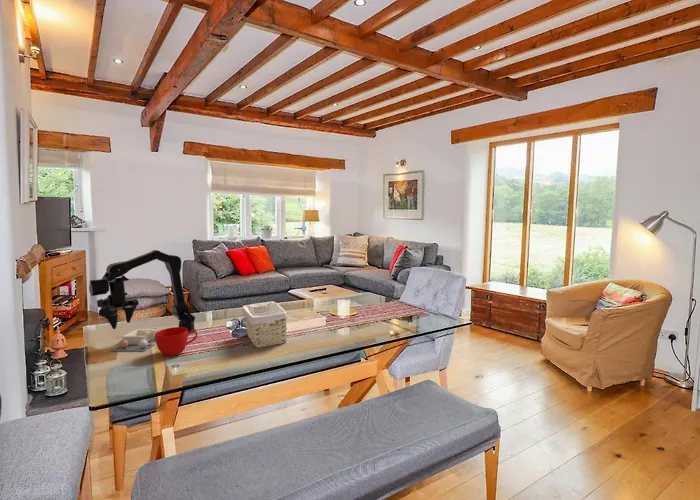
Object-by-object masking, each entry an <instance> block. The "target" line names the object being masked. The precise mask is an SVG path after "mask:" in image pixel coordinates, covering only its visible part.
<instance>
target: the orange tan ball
mask: <svg viewBox="0 0 700 500" xmlns="http://www.w3.org/2000/svg"><path fill="white" fill-rule="evenodd" d="M128 344H129V343H128V341H127V340H125V339H123V340H122V339H121V340H119V342H118V347H120V348H126V347H127V346H128Z"/></svg>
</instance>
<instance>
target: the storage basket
mask: <svg viewBox="0 0 700 500" xmlns="http://www.w3.org/2000/svg"><path fill="white" fill-rule="evenodd" d="M260 309H265V311H263V312H255V311H256V310H260ZM242 313H243V316H244V322H245V328H246V334H247V336H248V338H249V340H250V342H251V343H252V344H253V345H254V347H255V348H258V349H260V348H264V347H268V346H276V345H281V344H284V343H287V334H288V332H287V329H288V327H287V318H288V315H287V312H286V310H285V309H284V308H283V307H282V306H281V305H280V304H279V303H277V302H275V301H266V302H258V303H250V304H246V305H242Z"/></svg>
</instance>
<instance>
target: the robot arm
mask: <svg viewBox="0 0 700 500" xmlns="http://www.w3.org/2000/svg"><path fill="white" fill-rule="evenodd" d="M155 260H158V261H159V262H160V261H161V262H162V263H164V264H165V268H166V270H167V272H168V273H169V277H170V284H171V289H172V295H173V301H174V303H173V305H171V306H170V308H171V314H172V315H173V316H174V317H175V318H177V320H178V327H184V328H187V330H188V332H189V331H191V330H195V331H197V329H195V320H196V316H194V315H193V314H192V313H191V311H190V309H189V306H188V305H187V303H186V301H185V295H184V290H183V283H182V277H181V269H182V258H181V257H180V256H178V255H173V254H168V253H165V252H162V251H160V250H157V249H153V250H151V251H148V252H147V253H144V254H141V255H138V256H137V257H133V258H131V259H128V260H126V261H117V262H114V263H113V262H112V263H110V264H108V265H107V267H106V272H104V273H105V274H104V275H103V277H101V278H100V279H91V280H89V286H88V290H89V294H90V296H91V297H96V296H100V295H102V296H103V295H106V294H108V292H109V293H110V294H108V295H107V298H106V299H103V298H101V299H98V300H96V305H97V308H100V309H99V310H98V316H99V317H103V318H105V319H106V320H107V321H108V322H109V324H110V326H111V328H112V329H113V330H115V329H117V325H118V318H119V313H118V311H119V310H121V309H122V310H123V311H124V314H125V320H126V323H127V324H129V323H130V322H131V319H132V318H133V316H134V313H135V310H136V308H137V307H138V306H139V305H140V304H139V300H138V299H137V298H128V299H127V297H126V296H128V294H129V293H128V292H126V290H125V282H126V281H127V282H128V281H129V280H130V278H128V277H126V276H125V274H127V273H128V272H129V271H131V270H132V269H135V268H137V267H140V266H143V265H146V264H147V263H151V262H153V261H155ZM191 333H192V332H191ZM191 333H190V334H189V335H192V334H193V333H192V334H191Z"/></svg>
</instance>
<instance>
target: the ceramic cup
mask: <svg viewBox="0 0 700 500" xmlns="http://www.w3.org/2000/svg"><path fill="white" fill-rule="evenodd" d="M195 330H196V329H195ZM195 330H191V331H189V332H188V330H187V328H184V327H179V326H176V327H175V326H174V327H168V328H164V329H160V330H158V332H156V333H155V338H154V339H155V345H156V347H157V349H158V350H159V352H160V353H161V354H162V355H164V356H165V355H166V357H173V356H172V355H176V354H179V353H181V352H182V353H183V352H184V350H185V348H186V347H187V345H189V344H191V343H192V342H194V341H195V340H196V339H197V337H198V335H199V334H198V331H197V330H196V331H195ZM191 332H193V333H195V336H194V337H193V338H192V339H190V340H188V338H189V335H191V334H190V333H191ZM182 353H181V354H182Z"/></svg>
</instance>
